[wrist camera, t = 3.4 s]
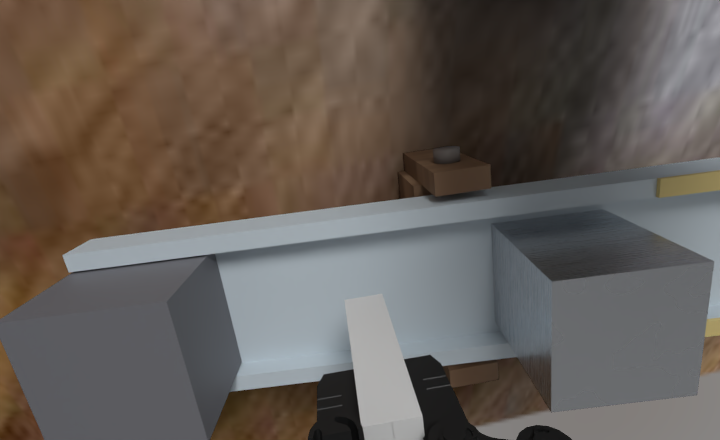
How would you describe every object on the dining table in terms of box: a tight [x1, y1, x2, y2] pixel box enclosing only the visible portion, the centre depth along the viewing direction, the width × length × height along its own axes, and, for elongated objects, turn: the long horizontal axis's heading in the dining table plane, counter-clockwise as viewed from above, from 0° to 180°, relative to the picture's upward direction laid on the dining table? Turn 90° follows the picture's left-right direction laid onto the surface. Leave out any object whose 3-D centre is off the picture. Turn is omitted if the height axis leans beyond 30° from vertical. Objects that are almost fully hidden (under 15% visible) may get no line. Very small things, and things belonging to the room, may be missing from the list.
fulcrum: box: [398, 146, 499, 388], centre depth 22 cm, size 3×12×6 cm, turn 7°
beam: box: [0, 157, 720, 440], centre depth 18 cm, size 34×8×6 cm, turn 97°
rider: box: [491, 209, 714, 412], centre depth 17 cm, size 5×5×6 cm
